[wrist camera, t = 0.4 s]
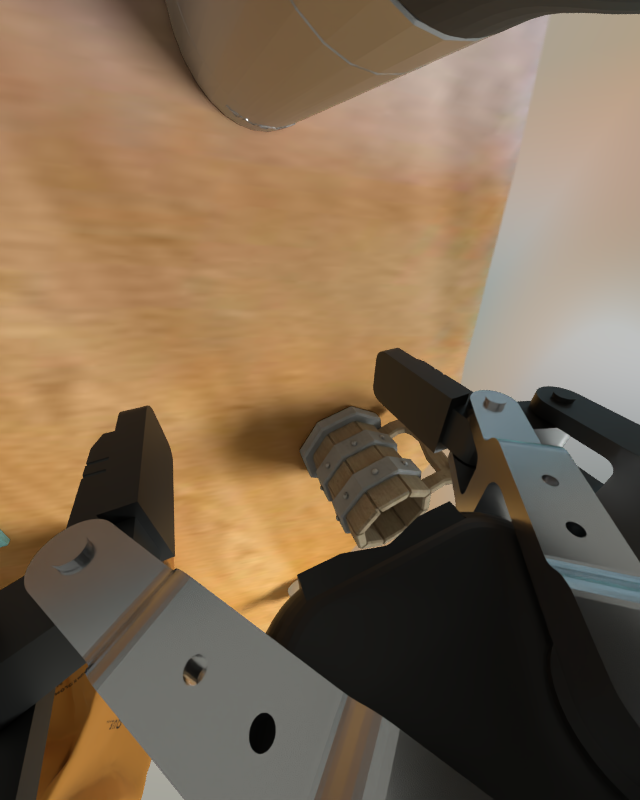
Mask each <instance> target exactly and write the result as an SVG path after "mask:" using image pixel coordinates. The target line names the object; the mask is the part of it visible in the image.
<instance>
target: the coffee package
mask: <svg viewBox="0 0 640 800" xmlns="http://www.w3.org/2000/svg"><path fill="white" fill-rule="evenodd" d="M162 562H163V563H164V564H165V565H167V566H168V567H169V568H171V569H172V570H174V557H172V558H169V559H167V560H164V561H162ZM87 667H88V665H87V663H85V664H84V665H83V666H82V667H80V668H79V669H78V670H77V671H75V672H74V673H73V674H72V675H70V676H69V677H68V678H67V679H65V680H64V681H63V682H62V683H60V684H59V685H58V686H57V687H56V690H55V695H54V701H53V707H52V712H51V718H50V724H49V729H48V735H47V741H46V746H45V752H44V757H43V763H42V769H41V774H40V780H39V786H38V791H37V797H36V800H141V798H142V794H143V790H144V786H145V781H146V775H147V771H148V769H149V766H150V762H151V758H150V757H149V755H148V754H147V753H146V752H145V750H144V749H143V748H142V747H141V746H140V744H139V743H138V742H137V741H136V739H135V738H134V737H133V736H132V734H131V733H130V732H129V731H128V730H127V728H126V727H125V726H124V725H123V723H122V722H121V721H120V720H119V718H118V717H117V716H116V715H115V713H114V712H113V711H112V710H111V709H110V707H109V706H108V705H107V704H106V702H105V701H104V700H103V699H102V697H101V696H100V695H99V694H98V693H97V691H96V690H95V689H94V687H93V686H92V685H91V683H90V682H89V680H88V678H87V676H86V674H85V670H86V668H87Z"/></svg>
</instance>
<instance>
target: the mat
mask: <svg viewBox="0 0 640 800" xmlns="http://www.w3.org/2000/svg"><path fill="white" fill-rule="evenodd" d="M9 541H10V539H9V538H8V537H7V536H6V535H5V534H4V533H3V532H2V531H1V530H0V547H3V546H7V545H8V544H9Z"/></svg>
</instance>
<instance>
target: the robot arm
mask: <svg viewBox="0 0 640 800" xmlns="http://www.w3.org/2000/svg"><path fill="white" fill-rule="evenodd" d="M165 1H166V5H167V9H168V13H169V17H170V21H171V25H172V29H173V33H174V35H175V38H176V40H177V43H178V46H179V48H180V51H181V53H182V56H183V58H184V60H185V62H186V64H187V66H188V68H189V69H190V71H191V73H192V75H193V77H194V79H195V80H196V82H197V83H198V85H199V86H200V88H201V89H202V90H203V92H204V93H205V94H206V96H207V97H208V98H209V100H210V101H211V102H212V103H213V104H214V105H215V106H216V107H217V108H218V109H219V110H220V111H221V112H222V113H223V114H224V115H225V116H227V117H228V118H230V119H231V120H233V121H234V122H236V123H237V124H239V125H241V126H243V127H246V128H249V129H251V130H254V131H264V132H270V131H275V130H280V129H283V128H286V127H289V126H292V125H294V124H295V123H297V122H299V121H301V120H304V119H306V118H308V117H311V116H313V115H315V114H317V113H320V112H322V111H324V110H326V109H329V108H331V107H333V106H335V105H338V104H340V103H342V102H344V101H347V100H349V99H351V98H353V97H356V96H358V95H360V94H362V93H365V92H367V91H369V90H371V89H374V88H376V87H378V86H380V85H383V84H385V83H387V82H389V81H392V80H394V79H396V78H398V77H401V76H403V75H405V74H407V73H410V72H412V71H414V70H416V69H419V68H421V67H423V66H425V65H427V64H429V63H432V62H434V61H436V60H438V59H441V58H443V57H445V56H447V55H450V54H452V53H454V52H456V51H459V50H461V49H463V48H465V47H468V46H470V45H472V44H474V43H477V42H479V41H481V40H483V39H486V38H488V37H490V36H492V35H495V34H497V33H500V32H502V31H505V30H507V29H509V28H511V27H514V26H516V25H518V24H521V23H523V22H525V21H528V20H530V19H533V18H537V17H540V16H544V15H549V14H556V13H601V14H640V0H165ZM373 389H374V394H375V396H376V398H377V399H378V401H379V402H380V403H381V404H382V405H384V406H385V407H386V408H387V409H388V410H389V411H390V412H391V413H392V414H393V415H394V416H395V417H396V418H397V419H398V420H399V421H400V422H401V423H402V424H404V425H405V426H406V427H407V428H408V429H409V430H410V431H411V432H412V433H413V434H414V435H415V436H416V437H417V438H418V439H419V440H420V441H421V442H423V443H424V444H425V445H426V446H427V447H428V448H429V449H430V450H431V451H432V452H433V453H437V452H439V451H442V450H444V449H449V450H450V453H449V456H448V462H449V467H450V473H451V478H452V484H453V490H454V495H455V502H456V507H455V506H454V505H452V503H451V502H447V503H445V504H443V505H441V506H439V507H437V508H435V509H432V510H430V511H428V512H426V513H424V514H422V515H420V516H418V517H417V518H416V519H415V520H414V521H413V522H412V523H411V524H410V525H409V526H408V527H407V528H406V529H405V530H404V531H403V532H402V533H401V534H400V535H399V536H398V537H397V538H396V539H395V540H394V541H392V542H391V543H390V544H389V545H387V546H383V547H377V548H371V549H366V550H360V551H354V552H348V553H342V554H339V555H337V556H335V557H333V558H331V559H329V560H327V561H325V562H323V563H321V564H319V565H317V566H314V567H312V568H310V569H308V570H306V571H304V572H302V573H300V574H298V575H297V577H298V583H299V590H297V591H296V592H295V593H294V594H293V595H292V596H291V597H290V598H289V599H288V600H287V602H286V603H285V604H284V605H283V606H282V607H281V609H280V610H279V612H278V613H277V615H276V616H275V618H274V619H273V621H272V622H271V624H270V626H269V628H268V630H267V632H266V633H264V632H263V631H262V630H260V629H259V628H258V627H256V626H255V625H254V624H252V623H251V622H250V621H248V620H247V619H246V618H244V617H243V616H242V615H240V614H239V613H238V612H236V611H235V610H234V609H233V608H231V607H230V606H229V605H227V604H226V603H225V602H223V601H222V600H221V599H219V598H218V597H217V596H215V595H214V594H213V593H211V592H210V591H209V590H207V589H206V588H205V587H203V586H202V585H201V584H199V583H198V582H197V581H196V580H194V579H193V578H192V577H190V576H189V575H187V574H186V573H185V572H183V571H181V570H179V569H177V568H176V569H175V570H172V569H171V568H169V567H168V566H167V565H165V564H164V563H163V562H162V561H164V560H167V559H169V558H172V557H174V556H175V540H174V492H173V458H172V453H171V449H170V446H169V443H168V441H167V439H166V437H165V435H164V433H163V430H162V428H161V426H160V424H159V422H158V420H157V418H156V416H155V414H154V411H153V410H152V408H151V407H150V406H144V407H140V408H135V409H131V410H127V411H123V412H120V413H119V415H118V420H117V424H116V429H115V431H113V432H109V433H105V434H103V435H102V436H101V437H100V438H99V440H98V441H97V442H96V443H95V444H94V445H93V447H92V448H91V450H90V453H89V456H88V459H87V463H86V464H87V466H85V469H84V472H83V479H81V482H80V485H79V488H78V492H77V495H76V498H75V501H74V505H73V508H72V511H71V514H70V518H69V521H68V524H67V527H66V529H65V530H63V531H62V532H60V533H59V534H57V535H56V536H54V537H53V538H52V539H51V540H49V541H48V542H47V543H46V544H45V545H44V546H43V547H42V548H41V549H40V550H39V551H38V553H37V554H36V555H35V556H34V558H33V559H32V561H31V562H30V564H29V566H28V568H27V570H26V573H25V576H23V577H22V578H20V579H18V580H17V581H15V582H14V583H12V584H10V585H8V586H7V587H5V588H3V589H2V590H0V800H36V797H37V791H38V786H39V780H40V774H41V769H42V763H43V757H44V752H45V746H46V741H47V735H48V729H49V724H50V718H51V712H52V707H53V701H54V695H55V690H56V687H57V686H58V685H59V684H60V683H62V682H63V681H64V680H65V679H67V678H68V677H69V676H70V675H72V674H73V673H74V672H75V671H77V670H78V669H79V668H80V667H82V666H83V665H84V664H85V663H87V665H88V667H87V668H86V670H85V674H86V676H87V678H88V680H89V682H90V683H91V685H92V686H93V687H94V689H95V690H96V691H97V693H98V694H99V695H100V696H101V697H102V699H103V700H104V701H105V702H106V704H107V705H108V706H109V707H110V709H111V710H112V711H113V712H114V713H115V715H116V716H117V717H118V718H119V720H120V721H121V722H122V723H123V725H124V726H125V727H126V728H127V730H128V731H129V732H130V733H131V734H132V736H133V737H134V738H135V739H136V741H137V742H138V743H139V744H140V746H141V747H142V748H143V749H144V750H145V752H146V753H147V754H148V755H149V757H150V758H151V759H152V760H153V761H154V763H155V764H156V765H157V766H158V768H159V769H160V770H161V771H162V773H163V774H164V775H165V776H166V778H167V779H168V780H169V781H170V782H171V784H172V785H173V786H174V787H175V789H176V790H177V791H178V792H179V794H180V795H181V796H182V797H183V798H184V800H640V425H639V424H637V423H634V422H633V421H631V420H629V419H627V418H625V417H623V416H621V415H619V414H617V413H614V412H613V411H611V410H609V409H607V408H605V407H603V406H601V405H599V404H597V403H595V402H593V401H591V400H589V399H587V398H585V397H583V396H581V395H579V394H577V393H575V392H572V391H569V390H566V389H563V388H559V387H549V386H548V387H541V388H539V389H538V390H537V391H536V393H535V395H534V397H533V398H532V400H531V401H520V402H516V401H515V400H514V399H513V398H511V397H509V396H507V395H505V394H502V393H500V392H496V391H490V390H479V391H475V392H472V391H470V390H469V389H467V388H466V387H464V386H462V385H461V384H459V383H458V382H456V381H455V380H453V379H451V378H450V377H448V376H447V375H443V373H442V372H440V371H439V370H437V369H434V367H432V366H431V365H429V364H427V363H426V362H424V361H421V360H418V359H415V358H414V357H412V356H411V355H409V354H408V353H406V352H404V351H403V350H401V349H400V348H394V349H390V350H386V351H382V352H379V353H378V355H377V358H376V366H375V375H374V384H373ZM570 437H573V438H574V439H576V440H578V441H579V442H581V443H582V444H584V445H586V446H587V447H589V448H590V449H592V450H594V451H595V452H597V453H598V454H600V455H602V456H603V457H605V458H606V459H607V460H609V461H610V463H611V464H612V466H613V475H612V476H611V477H610V478H609V479H608V481H607V482H606V483H605V484H603V483H601V482H600V481H598V480H597V479H595V478H594V477H592V476H591V475H589V474H588V473H587V472H585V471H584V470H582V469H581V468H579V467H578V466H577V465H576V463H575V462H574V460H573V459H572V457H571V456H570V454H569V453H568V452H567V450H565V449H564V448H563V446H564V445H565V444H566V442H567V441H568V439H569V438H570Z"/></svg>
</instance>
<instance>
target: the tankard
mask: <svg viewBox="0 0 640 800" xmlns="http://www.w3.org/2000/svg"><path fill="white" fill-rule="evenodd" d="M401 433H407V434H410V435H412V436H413V437H414V438H415V439H416V440H418V441H419V443H420V445H421V448H422V450H423V452H424V455H425V457H426V459H427V461H428V462H429V463H430V464H431V466H432V467H433V468H434V469H435V471H436V473H434V474H432V475H430V476H428V477H426V478H424V479H422V480H421V471H420V469H419V468H418V467H417V466H416V465H415V464H414V463H413V462H412V461H411V459H404V458H402V457H401V456H400V455H399V454H398V453H397V444H396V443H395V442H394V441H393V439H392V438H393V437H395V436H396V435H398V434H401ZM300 453H301V456H302V458H303V461H304V463H305V466H306V468H307V470H308V472H309V474H310V476H311V477H313V478H318V479H319V481H320V484H321V486H320V489H321V490H323V491H324V493H325V495H326V497H327V499H328V501H332V503H333V506H334V509H335V512H336V515H337V516H336V519H337V521H339V522H340V524H341V525H342V527H343V529H344V531H345V533H351V534H352V536H353V538H354V540H355V542H356V544H357V545H358V547H359V548H362V549H363V548H369V547H375V546H381V545H382V544H386V543H387V542H389V541H391V540H392V539H394V538H396V537H397V536H399V535H400V534H401V533H402V532H403V531H404V530H405V529H406V528H407V527H408V526H409V525H410V524H411V523H412V522H413V521H414V520H415V519H416V518H417V517H418V516H420V515H422V514H424V513H425V512H426V511H427V509H428V508H429V502H430V496H431V493H433V492H434V491H436V490H438V489H439V488H441V487H443V486H444V485H449V484H452V478H451V473H450V467H449V462H448V458H447V457H446V455H445V454H444V453H443V452H442V451H439V452H437V453H433V452H432V451H431V450H430V449H429V448H428V447H427V446H426V445H425V444H424V443H423V442H421V441H420V440H419V439H418V438H417V437H416V436H415V435H414V434H413V433H412V432H411V431H410V430H409V429H408V428H407V427H406V426H405V425H404V424H402V423H401V422H400V421H399V420H396V421H393V422H390V423H388V424H386V425H385V426H383V427H381V420H380V417H379V416H378V415H377V414H376V413H373V412H369V411H366V410H362V409H359V408H355V407H352V406H351V407H348V408H346V409H344V410H342V411H340V412H338V413H336V414H334V415H332V416H330V417H328V418H326V419H324V420H321V421H319V422H318V423H317V424H316V426H315V427H314V429H313V430H312V432H311V434H310V435H309V437H308V438H307V440H306V441H305V443H304V445H303V446H302V448H301V449H300Z"/></svg>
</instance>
